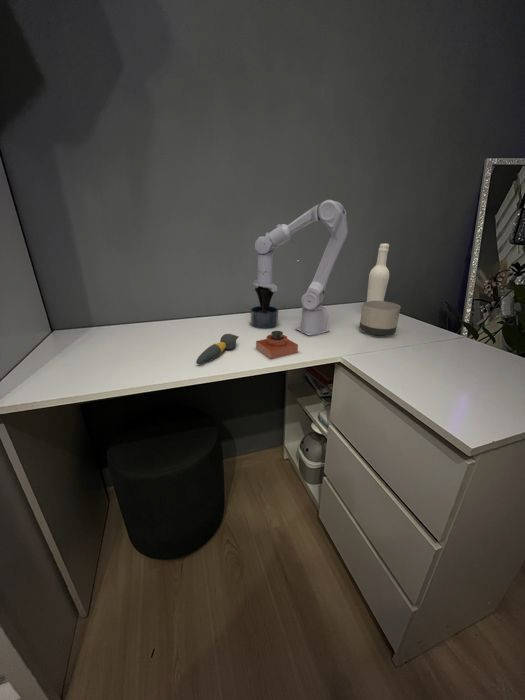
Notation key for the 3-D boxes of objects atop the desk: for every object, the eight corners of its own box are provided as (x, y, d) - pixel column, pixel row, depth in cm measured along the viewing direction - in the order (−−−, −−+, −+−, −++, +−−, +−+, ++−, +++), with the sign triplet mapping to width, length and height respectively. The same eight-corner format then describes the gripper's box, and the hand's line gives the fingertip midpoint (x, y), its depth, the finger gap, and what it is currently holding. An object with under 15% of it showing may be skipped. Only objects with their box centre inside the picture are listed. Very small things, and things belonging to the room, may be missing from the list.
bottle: (359, 313, 134) (370, 242, 121) (377, 313, 134) (389, 242, 122) (367, 319, 126) (379, 244, 114) (385, 318, 127) (399, 244, 115)
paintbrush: (208, 369, 83) (207, 353, 81) (193, 366, 84) (191, 349, 83) (242, 345, 99) (241, 330, 97) (229, 342, 101) (228, 328, 99)
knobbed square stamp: (281, 343, 101) (282, 330, 99) (297, 352, 94) (298, 339, 92) (255, 348, 96) (255, 335, 94) (270, 359, 89) (270, 345, 87)
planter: (372, 324, 120) (376, 299, 115) (402, 333, 110) (408, 306, 106) (351, 330, 113) (355, 303, 109) (381, 341, 103) (386, 312, 99)
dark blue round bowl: (268, 318, 126) (269, 304, 123) (283, 325, 117) (283, 311, 115) (246, 322, 121) (245, 308, 118) (259, 330, 112) (259, 315, 110)
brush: (266, 319, 122) (267, 295, 118) (274, 322, 118) (274, 298, 114) (254, 321, 120) (254, 297, 116) (261, 325, 115) (262, 300, 111)
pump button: (278, 335, 96) (278, 329, 95) (284, 339, 93) (285, 333, 92) (268, 337, 94) (269, 331, 93) (275, 341, 91) (275, 335, 90)
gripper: (246, 269, 115) (246, 303, 120) (265, 274, 103) (265, 312, 109) (262, 267, 118) (261, 301, 123) (282, 273, 106) (281, 310, 112)
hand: (264, 306), depth 116 cm, fingers closed on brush, 2 cm apart
